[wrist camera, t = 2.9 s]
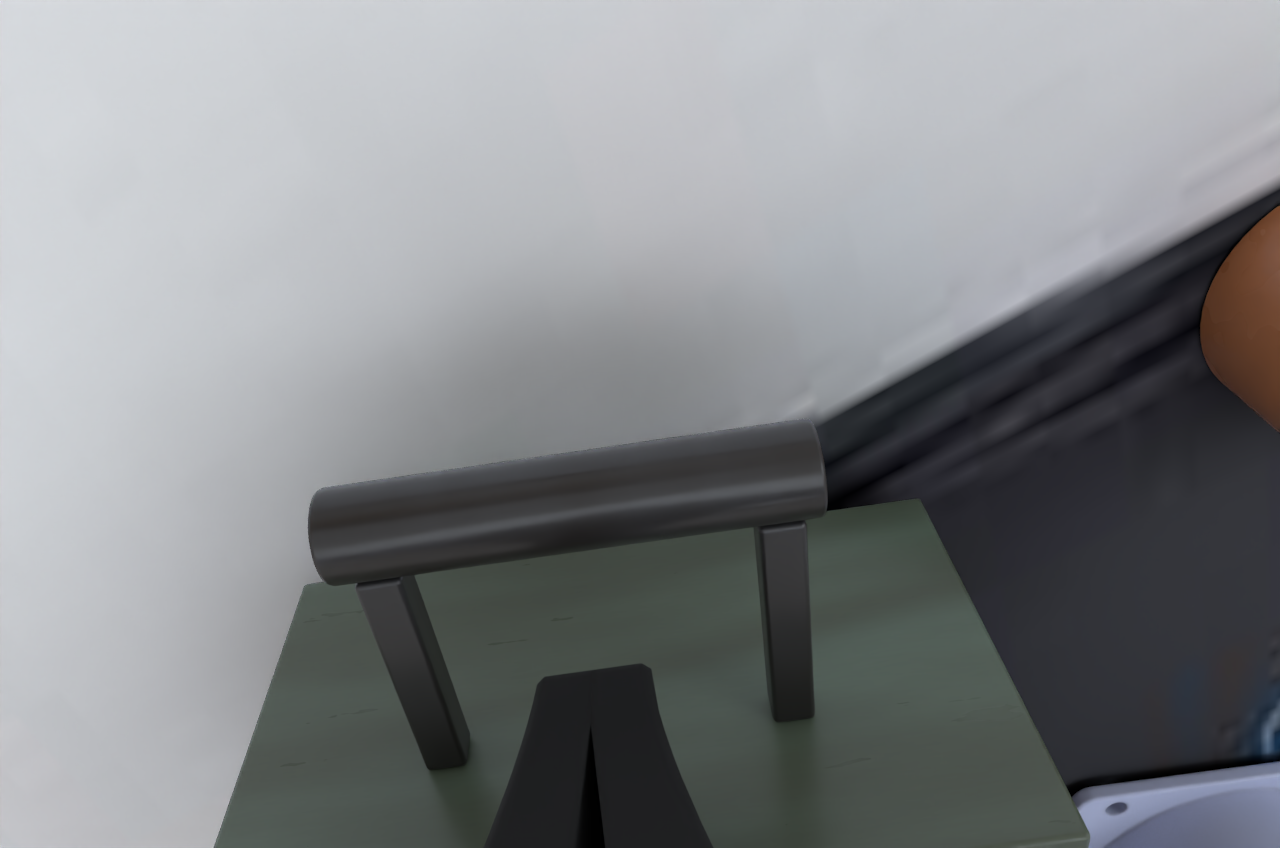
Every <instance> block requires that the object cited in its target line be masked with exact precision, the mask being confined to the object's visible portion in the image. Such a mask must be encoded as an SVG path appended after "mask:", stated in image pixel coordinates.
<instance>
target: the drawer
mask: <svg viewBox="0 0 1280 848" xmlns="http://www.w3.org/2000/svg"><path fill="white" fill-rule="evenodd" d="M827 505H828V489H827V478H826V470H825V463H824V458H823V453H822V448H821V444H820V440H819V437H818V434H817V431H816V428H815V426H814V425H813V423H812V421H811V420H810V419H799V420H792V421H785V422H778V423H771V424H764V425H757V426H750V427H743V428H736V429H729V430H722V431H715V432H708V433H701V434H694V435H687V436H680V437H673V438H666V439H659V440H652V441H645V442H638V443H631V444H624V445H617V446H610V447H603V448H596V449H589V450H582V451H575V452H568V453H561V454H554V455H548V456H541V457H534V458H527V459H520V460H513V461H506V462H499V463H492V464H485V465H478V466H471V467H464V468H457V469H450V470H443V471H436V472H429V473H422V474H415V475H408V476H401V477H394V478H387V479H380V480H373V481H366V482H359V483H352V484H345V485H338V486H331V487H324V488H321V489H320V490H318V491H317V492H316V493H315V494H314V496H313V498H312V501H311V504H310V508H309V517H308V535H309V544H310V549H311V554H312V558H313V561H314V564H315V567H316V569H317V572H318V574H319V575H320V577H321V579H322V580H323V581H324V582H320V583H313V584H307V585H305V586H304V588H303V591H302V594H301V597H300V600H299V603H298V606H297V608H296V611H295V614H294V617H293V620H292V623H291V626H290V629H289V632H288V634H287V637H286V640H285V643H284V646H283V649H282V652H281V655H280V658H279V661H278V663H277V666H276V669H275V672H274V675H273V678H272V681H271V684H270V687H269V689H268V692H267V695H266V698H265V701H264V704H263V707H262V710H261V713H260V715H259V718H258V721H257V724H256V727H255V730H254V733H253V736H252V739H251V741H250V744H249V747H248V750H247V753H246V756H245V759H244V762H243V765H242V767H241V770H240V773H239V776H238V779H237V782H236V785H235V788H234V791H233V794H232V796H231V799H230V802H229V805H228V808H227V811H226V814H225V817H224V820H223V822H222V825H221V828H220V831H219V834H218V837H217V840H216V843H215V846H214V848H484V845H485V843H486V840H487V838H488V835H489V833H490V830H491V827H492V825H493V822H494V819H495V817H496V814H497V811H498V809H499V806H500V803H501V801H502V798H503V796H504V793H505V790H506V788H507V785H508V782H509V779H510V777H511V774H512V771H513V768H514V765H515V762H516V759H517V756H518V753H519V750H520V746H521V743H522V740H523V737H524V733H525V730H526V727H527V723H528V719H529V716H530V712H531V708H532V704H533V700H534V696H535V691H536V687H537V684H538V683H539V682H540V681H541V680H542V679H543V678H544V677H546V676H553V675H560V674H567V673H574V672H581V671H589V670H596V669H603V668H610V667H617V666H624V665H632V664H639V663H642V664H644V665H646V666H647V667H649V668H651V670H652V675H653V681H654V686H655V692H656V698H657V703H658V709H659V713H660V716H661V720H662V723H663V726H664V730H665V733H666V736H667V738H668V741H669V744H670V747H671V750H672V753H673V756H674V758H675V761H676V764H677V766H678V769H679V771H680V774H681V776H682V779H683V781H684V784H685V786H686V788H687V790H688V793H689V795H690V797H691V800H692V802H693V804H694V806H695V809H696V811H697V813H698V816H699V818H700V820H701V823H702V825H703V827H704V829H705V831H706V833H707V835H708V837H709V839H710V842H711V844H712V846H713V848H1088V847H1089V843H1090V833H1089V831H1088V829H1087V827H1086V825H1085V823H1084V821H1083V819H1082V817H1081V815H1080V813H1079V811H1078V809H1077V807H1076V805H1075V803H1074V801H1073V799H1072V797H1071V795H1070V793H1069V791H1068V789H1067V787H1066V785H1065V783H1064V781H1063V780H1062V778H1061V776H1060V774H1059V772H1058V770H1057V768H1056V766H1055V764H1054V762H1053V760H1052V758H1051V756H1050V754H1049V752H1048V750H1047V748H1046V746H1045V744H1044V742H1043V740H1042V738H1041V736H1040V734H1039V732H1038V730H1037V728H1036V726H1035V724H1034V722H1033V720H1032V718H1031V717H1030V715H1029V713H1028V711H1027V709H1026V707H1025V705H1024V703H1023V701H1022V699H1021V697H1020V695H1019V693H1018V691H1017V689H1016V687H1015V685H1014V683H1013V681H1012V679H1011V677H1010V675H1009V673H1008V671H1007V669H1006V667H1005V665H1004V663H1003V661H1002V659H1001V657H1000V655H999V654H998V652H997V650H996V648H995V646H994V644H993V642H992V640H991V638H990V636H989V634H988V632H987V630H986V628H985V626H984V624H983V622H982V620H981V618H980V616H979V614H978V612H977V610H976V608H975V606H974V604H973V602H972V600H971V598H970V596H969V594H968V592H967V591H966V589H965V587H964V585H963V583H962V581H961V579H960V577H959V575H958V573H957V571H956V569H955V567H954V565H953V563H952V561H951V559H950V557H949V555H948V553H947V551H946V549H945V547H944V545H943V543H942V541H941V539H940V537H939V535H938V533H937V531H936V530H935V528H934V526H933V524H932V522H931V520H930V518H929V516H928V514H927V512H926V510H925V508H924V506H923V504H922V502H921V500H920V499H917V498H915V499H908V500H901V501H894V502H887V503H880V504H873V505H866V506H859V507H852V508H845V509H837V510H830V511H827Z"/></svg>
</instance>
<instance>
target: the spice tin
mask: <svg viewBox="0 0 1280 848" xmlns="http://www.w3.org/2000/svg"><path fill="white" fill-rule="evenodd" d="M1200 340H1201V345H1202V351H1203V354H1204V357H1205V360H1206V362H1207V364H1208V366H1209V368H1210V369H1211V371H1212V373H1213V374H1214V375H1215V376H1216V377H1217V378H1218V379H1219V381H1220V382H1221V383H1223V384H1224V385H1225V386H1226V387H1227V388H1228V389H1229V390H1230V391H1232V392H1233V393H1234V394H1235V395H1236V396H1237V397H1238V398H1240V399H1241V400H1242V401H1243V402H1244V403H1245V404H1246V405H1248V406H1249V407H1250V408H1251V409H1252V410H1253V411H1254V412H1256V413H1257V414H1258V415H1259V416H1260V417H1261V418H1262V419H1264V420H1265V421H1266V422H1267V423H1268V424H1269V425H1270V426H1272V427H1273V428H1274V429H1275V430H1276V431H1277V432H1278V433H1280V205H1279V206H1278V207H1276V208H1275V209H1274V210H1272V211H1271V212H1270V213H1269V214H1267V215H1266V216H1265V217H1264V218H1262V219H1261V220H1260V221H1259V222H1258V223H1257V224H1256V225H1255V226H1254V227H1253V228H1252V229H1251V230H1250V231H1249V232H1247V233H1246V234H1245V236H1244V237H1243V238H1242V239H1241V240H1240V241H1239V242H1238V244H1237V245H1236V246H1235V247H1234V248H1233V249H1232V251H1231V252H1230V254H1229V255H1228V257H1227V258H1226V259H1225V261H1224V262H1223V264H1222V265H1221V267H1220V269H1219V270H1218V272H1217V274H1216V276H1215V278H1214V279H1213V281H1212V284H1211V286H1210V289H1209V291H1208V293H1207V296H1206V299H1205V303H1204V306H1203V310H1202V316H1201V322H1200Z"/></svg>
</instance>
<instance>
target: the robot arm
mask: <svg viewBox="0 0 1280 848" xmlns="http://www.w3.org/2000/svg"><path fill="white" fill-rule="evenodd" d="M1072 799H1073V801H1074V803H1075V805H1076V807H1077V809H1078V811H1079V813H1080V815H1081V817H1082V819H1083V821H1084V823H1085V825H1086V827H1087V829H1088V831H1089V833H1090V843H1089V847H1088V848H1280V761H1277V762H1269V763H1262V764H1255V765H1247V766H1240V767H1232V768H1225V769H1217V770H1210V771H1203V772H1195V773H1188V774H1180V775H1173V776H1165V777H1158V778H1150V779H1143V780H1136V781H1128V782H1121V783H1113V784H1106V785H1098V786H1091V787H1087V788H1083V789H1081V790H1079V791H1078V792H1076V793H1075V794H1074V795H1073V796H1072ZM484 848H713V846H712V844H711V842H710V839H709V837H708V835H707V833H706V831H705V829H704V827H703V825H702V823H701V820H700V818H699V816H698V813H697V811H696V809H695V806H694V804H693V802H692V800H691V797H690V795H689V793H688V790H687V788H686V786H685V784H684V781H683V779H682V776H681V774H680V771H679V769H678V766H677V764H676V761H675V758H674V756H673V753H672V750H671V747H670V744H669V741H668V738H667V736H666V733H665V730H664V726H663V723H662V720H661V716H660V713H659V709H658V703H657V698H656V692H655V686H654V681H653V675H652V670H651V668H649V667H647V666H646V665H644V664H642V663H639V664H632V665H624V666H617V667H610V668H603V669H596V670H589V671H581V672H574V673H567V674H560V675H553V676H546V677H544V678H543V679H542V680H541V681H540V682H539V683H538V684H537V687H536V691H535V696H534V700H533V704H532V708H531V712H530V716H529V719H528V723H527V727H526V730H525V733H524V737H523V740H522V743H521V746H520V750H519V753H518V756H517V759H516V762H515V765H514V768H513V771H512V774H511V777H510V779H509V782H508V785H507V788H506V790H505V793H504V796H503V798H502V801H501V803H500V806H499V809H498V811H497V814H496V817H495V819H494V822H493V825H492V827H491V830H490V833H489V835H488V838H487V840H486V843H485V845H484Z"/></svg>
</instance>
